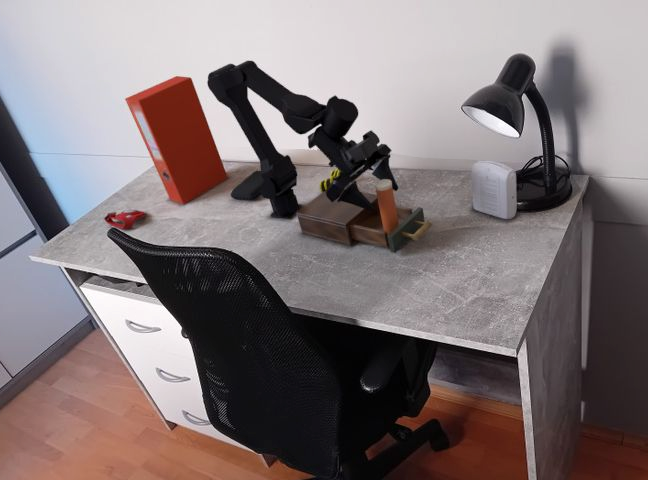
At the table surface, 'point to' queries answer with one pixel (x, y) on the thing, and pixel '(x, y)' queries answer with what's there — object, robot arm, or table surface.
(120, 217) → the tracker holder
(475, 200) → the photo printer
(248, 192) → the carrying case
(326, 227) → the organiser
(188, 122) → the file binder
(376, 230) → the drawer
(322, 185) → the opera glasses
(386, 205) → the tube
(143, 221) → the table surface
